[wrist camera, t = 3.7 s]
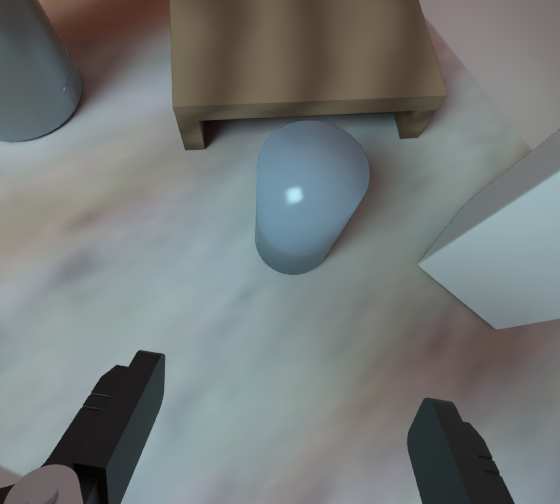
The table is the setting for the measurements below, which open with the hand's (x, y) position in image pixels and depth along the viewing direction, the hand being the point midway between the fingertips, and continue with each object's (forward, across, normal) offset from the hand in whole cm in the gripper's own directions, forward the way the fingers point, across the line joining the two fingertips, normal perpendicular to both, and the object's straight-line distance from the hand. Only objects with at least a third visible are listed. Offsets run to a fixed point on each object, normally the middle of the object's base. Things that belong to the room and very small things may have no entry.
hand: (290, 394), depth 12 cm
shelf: (+26, +1, -7) cm, 27 cm away
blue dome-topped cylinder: (+17, 0, +2) cm, 17 cm away
